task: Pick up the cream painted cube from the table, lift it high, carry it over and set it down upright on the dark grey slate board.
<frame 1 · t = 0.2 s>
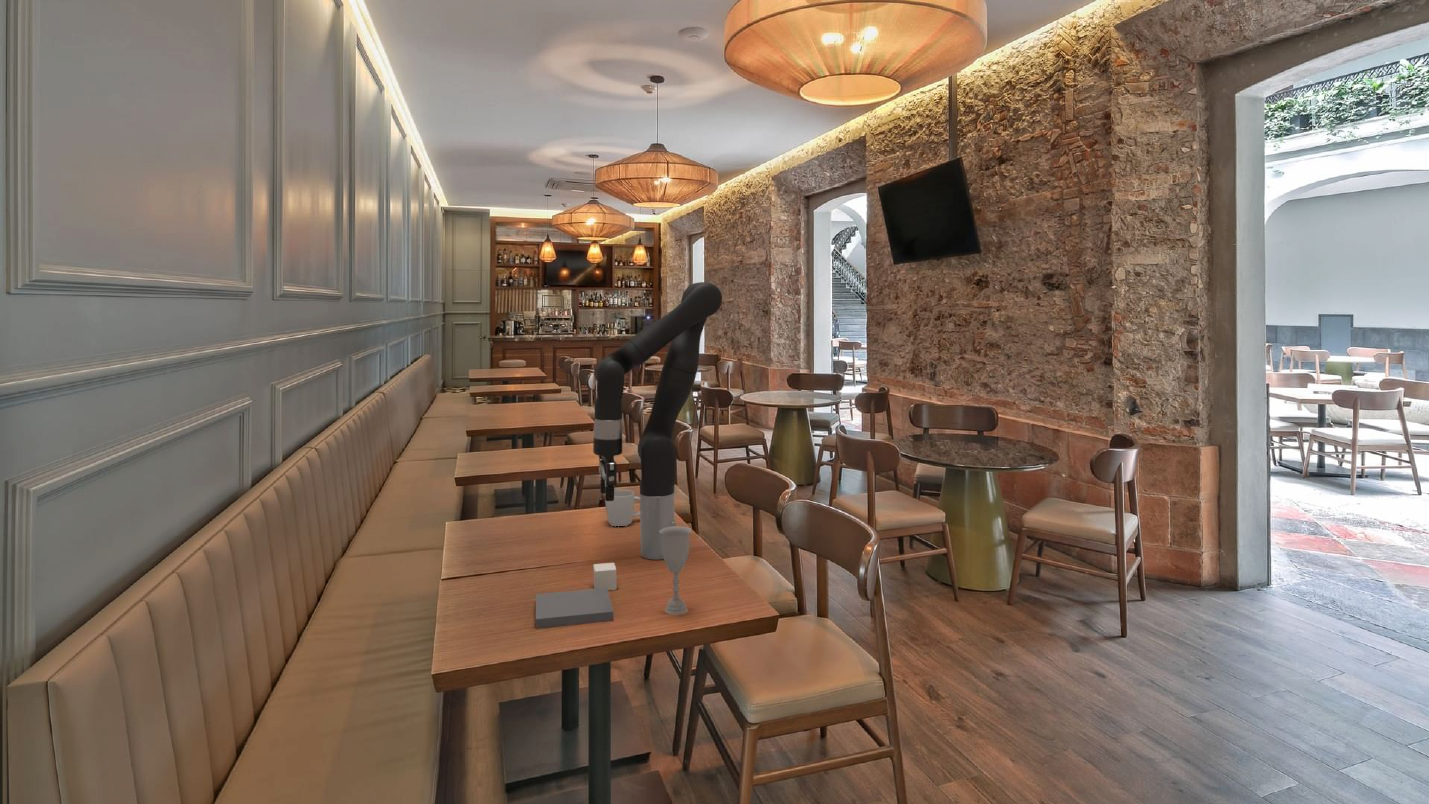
hand: (607, 496, 188), 17 cm above the table, tool pointing down, fingers open, 8 cm apart
chalice: (676, 611, 158), on the table
slate board: (573, 611, 157), on the table
mug: (625, 524, 224), on the table
cube: (605, 587, 172), on the table
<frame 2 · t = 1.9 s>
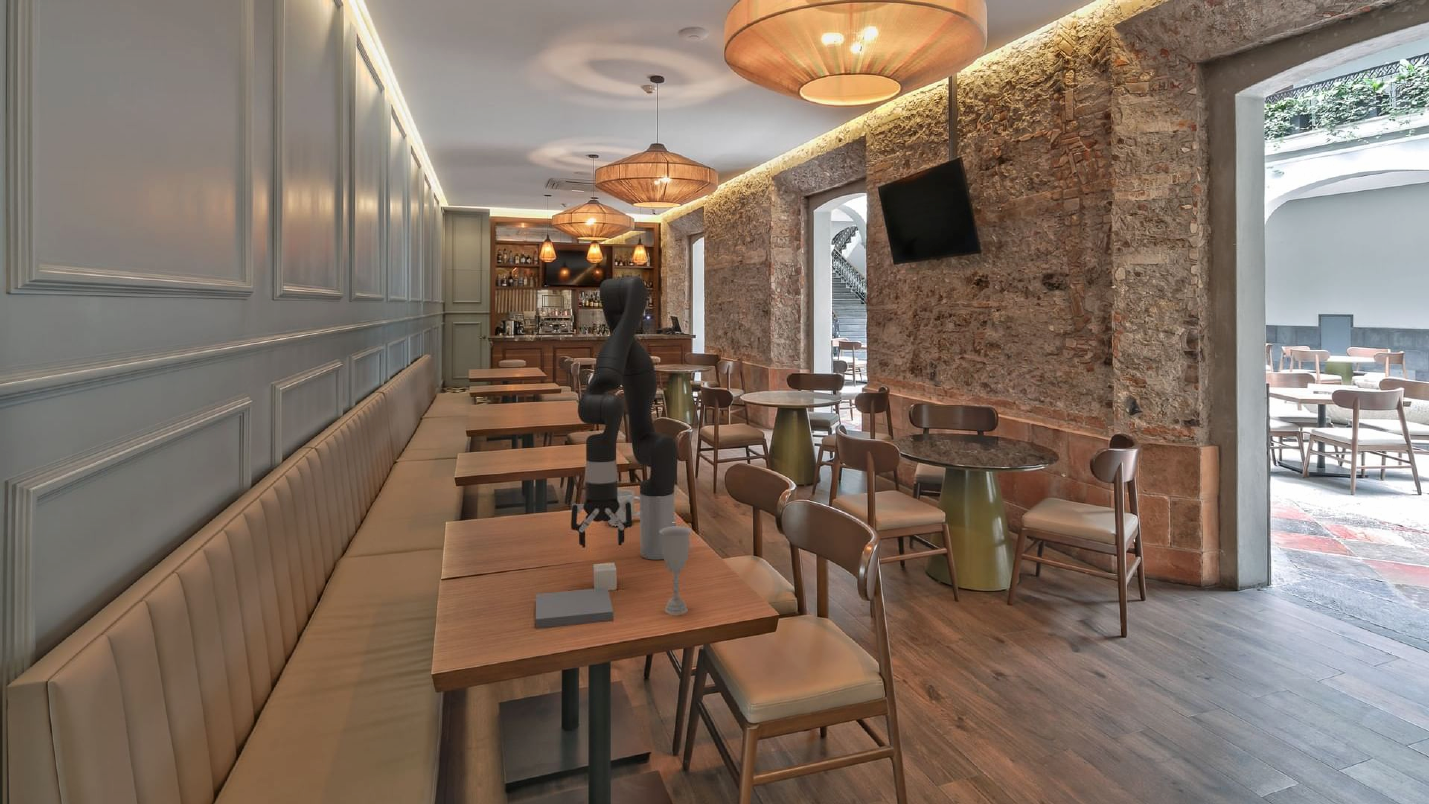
hand: (601, 545, 170), 10 cm above the table, tool pointing down, fingers open, 8 cm apart
nothing on the table moved.
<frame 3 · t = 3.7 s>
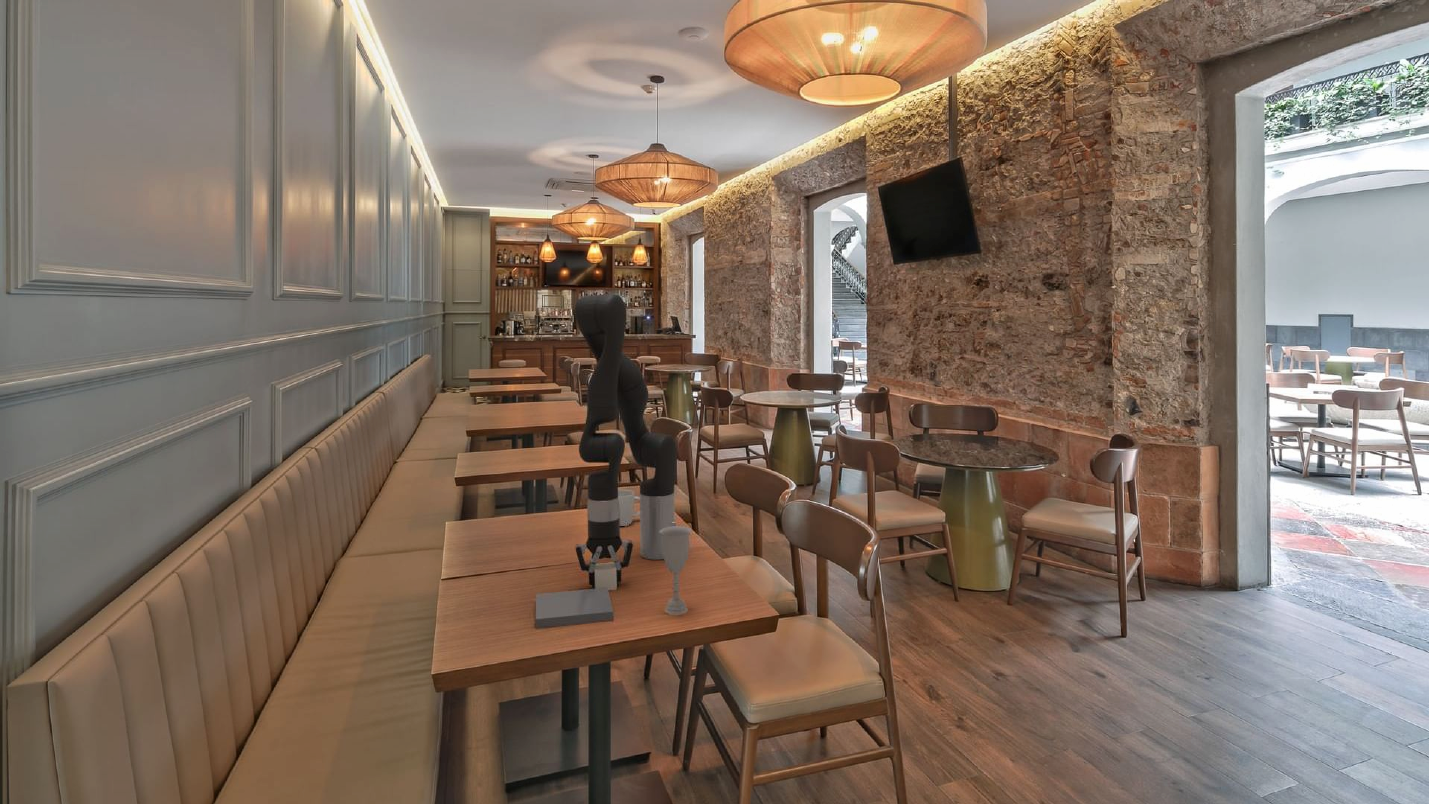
hand: (605, 584, 172), 0 cm above the table, tool pointing down, fingers closed on cube, 5 cm apart
cube: (605, 586, 172), on the table, touching gripper
everything else where it was.
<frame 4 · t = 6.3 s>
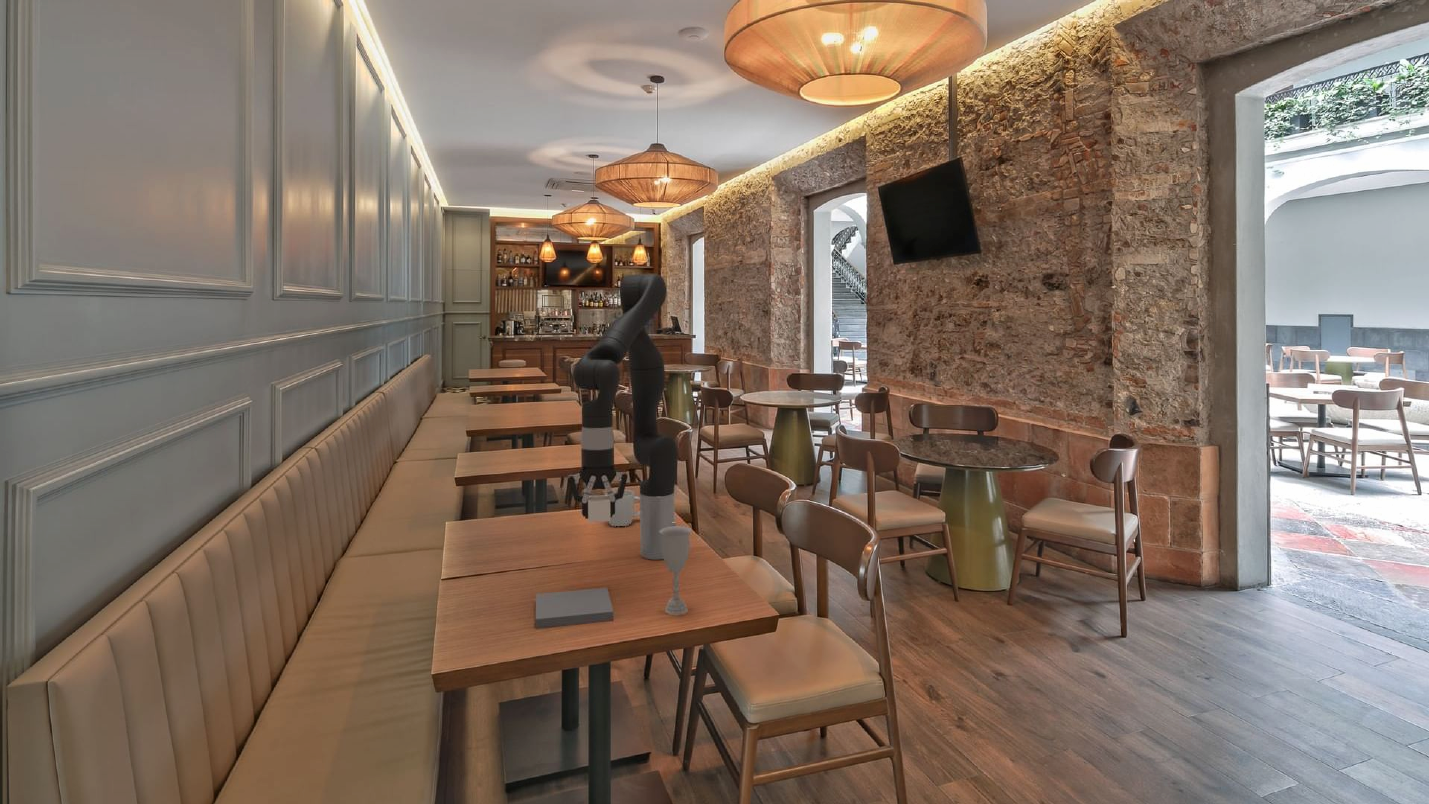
hand: (598, 516, 168), 18 cm above the table, tool pointing down, fingers closed on cube, 5 cm apart
cube: (598, 518, 168), point 17 cm above the table, touching gripper
everything else where it was.
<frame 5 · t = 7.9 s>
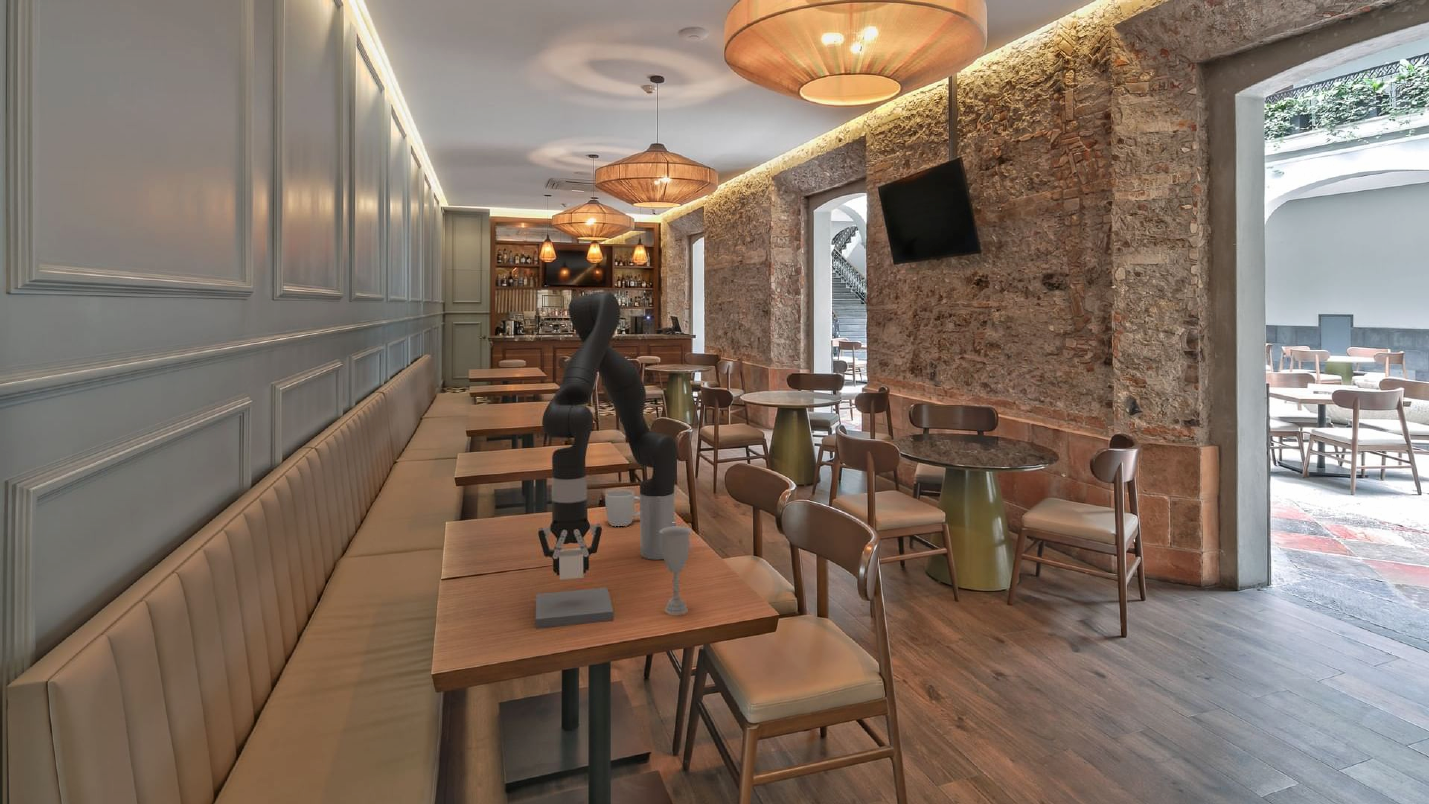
hand: (571, 572, 156), 9 cm above the table, tool pointing down, fingers closed on cube, 5 cm apart
cube: (571, 574, 156), point 8 cm above the table, touching gripper
everything else where it was.
when the fingers open (4 cm above the table, at t = 9.2 s): cube drops 1 cm, resting on slate board.
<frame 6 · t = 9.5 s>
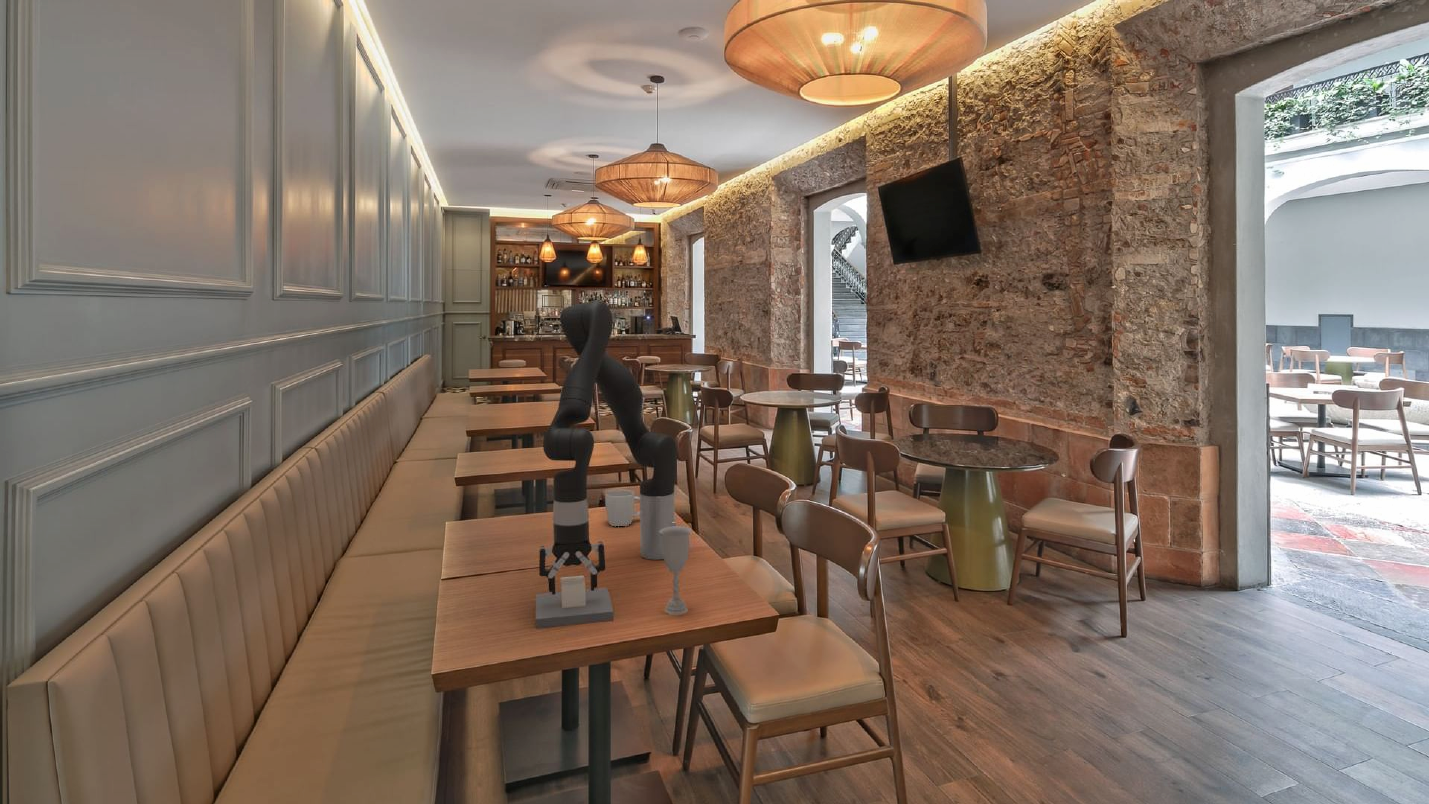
hand: (573, 591, 157), 5 cm above the table, tool pointing down, fingers open, 8 cm apart
cube: (573, 602, 157), point 2 cm above the table, touching slate board
everything else where it was.
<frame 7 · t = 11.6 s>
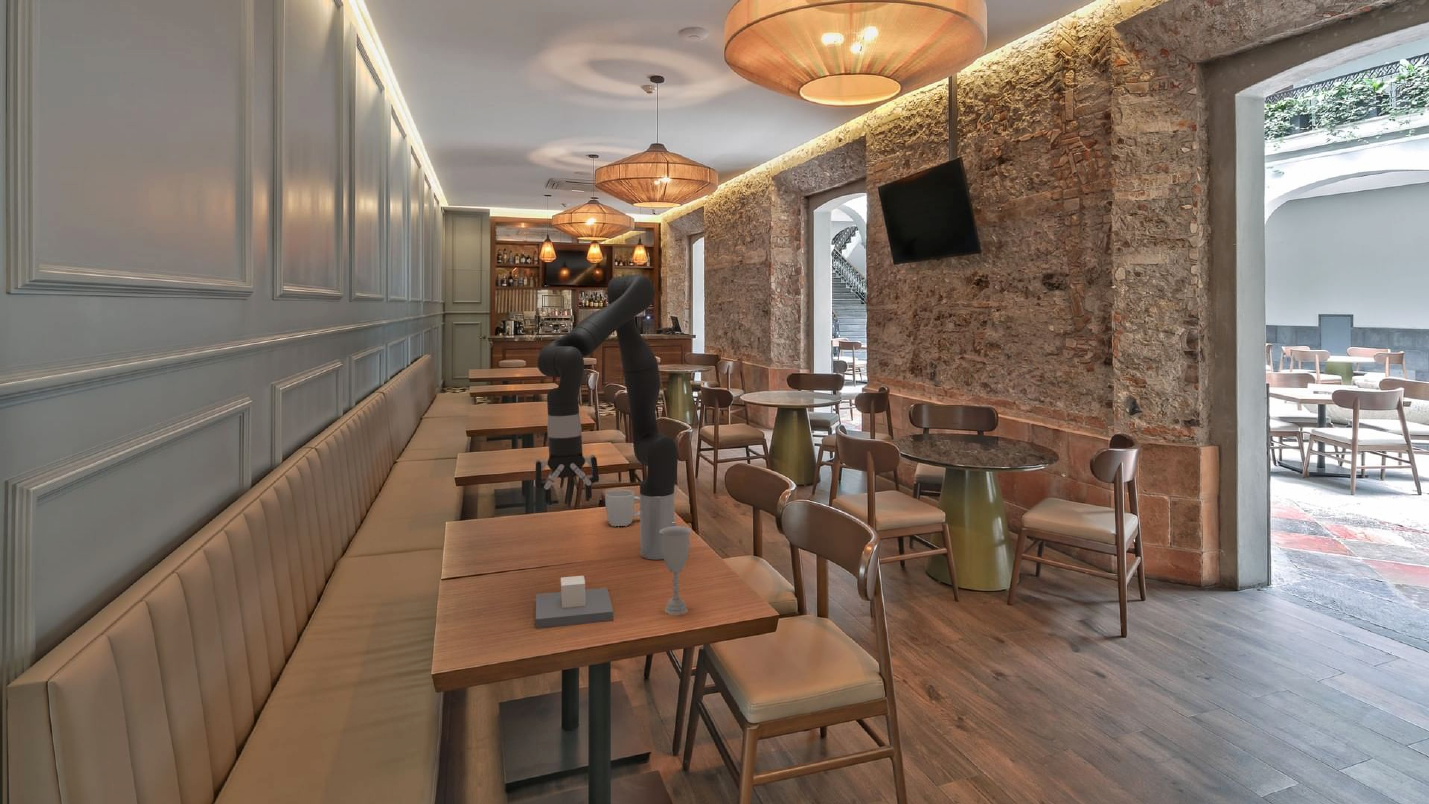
hand: (568, 502, 166), 22 cm above the table, tool pointing down, fingers open, 8 cm apart
nothing on the table moved.
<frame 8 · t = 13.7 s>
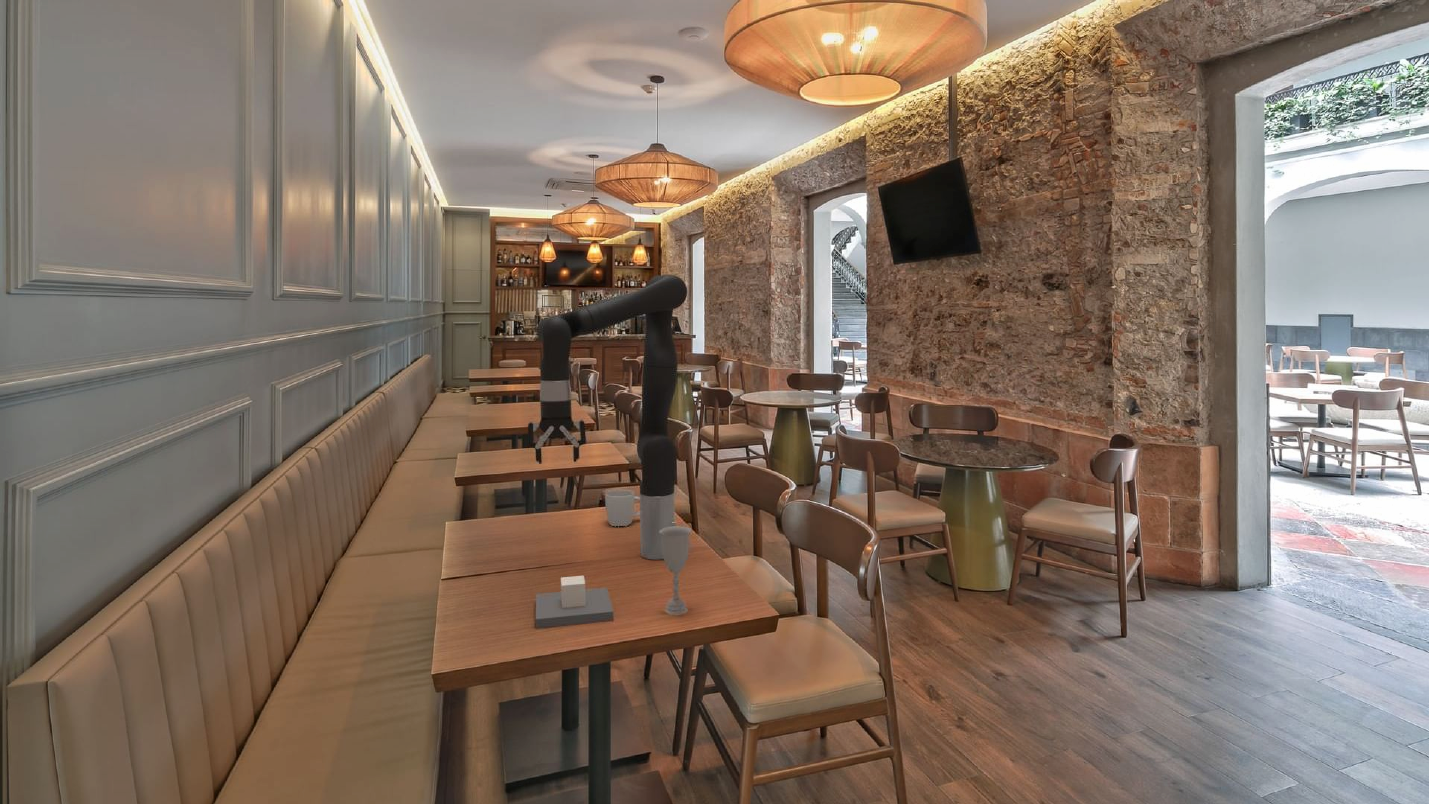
hand: (557, 462, 180), 28 cm above the table, tool pointing down, fingers open, 8 cm apart
nothing on the table moved.
at the end: cube inside the target area on the slate board (0.0 cm from its centre), point 2.0 cm above the slate board's base; cube tilted 0°; the gripper is holding nothing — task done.
